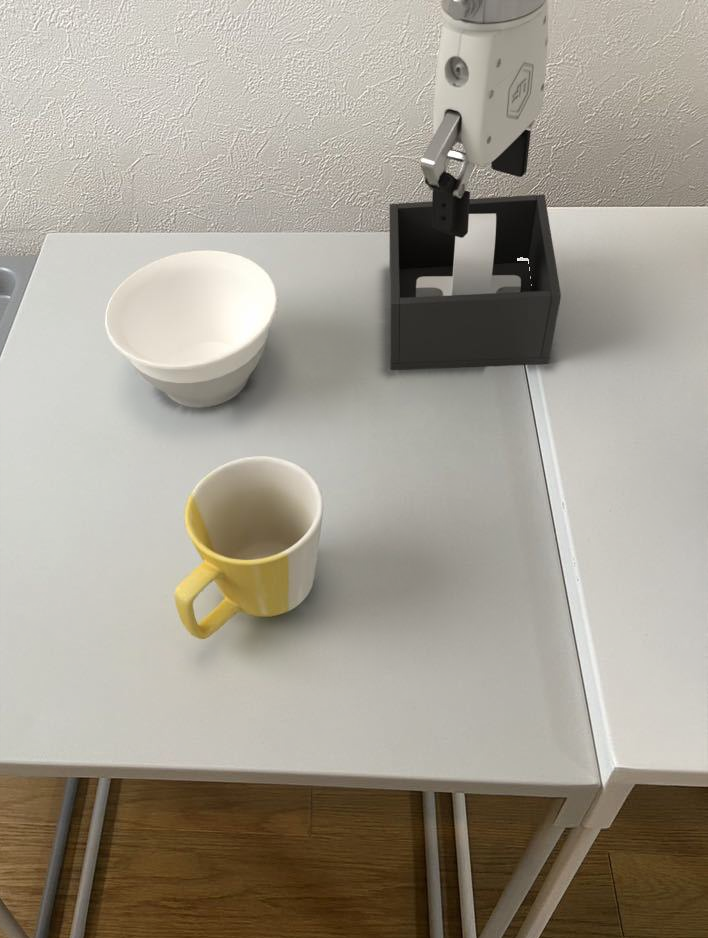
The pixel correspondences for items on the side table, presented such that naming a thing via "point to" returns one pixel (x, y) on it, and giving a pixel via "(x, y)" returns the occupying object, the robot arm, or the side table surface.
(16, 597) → the side table surface
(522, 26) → the robot arm
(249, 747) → the side table surface
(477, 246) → the cable organizer
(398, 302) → the basket
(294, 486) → the mug
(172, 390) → the bowl
